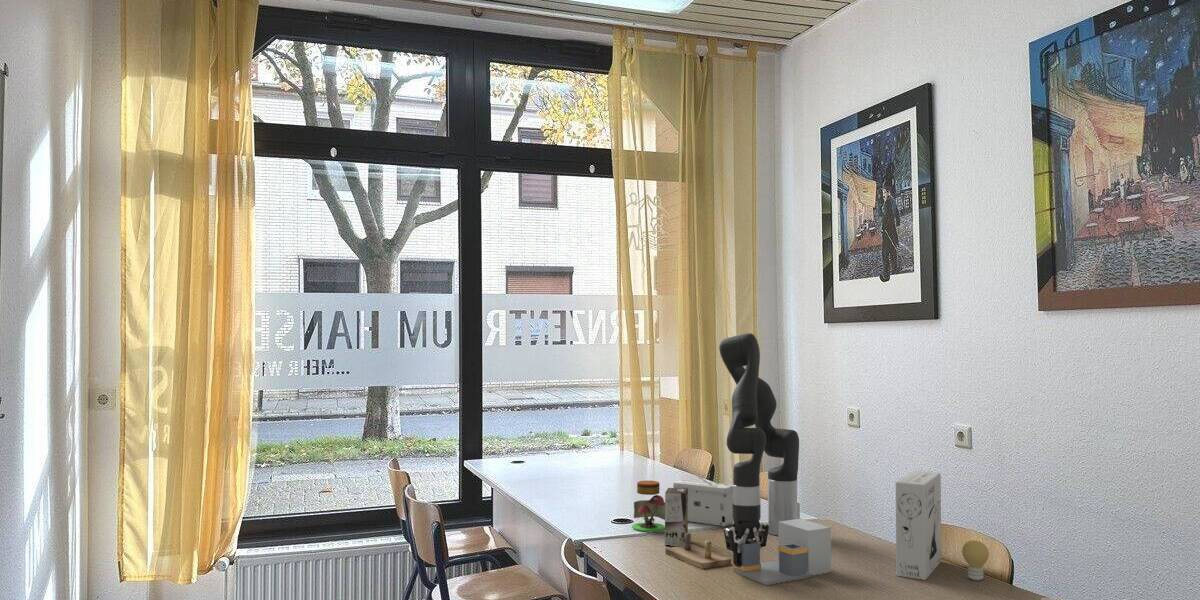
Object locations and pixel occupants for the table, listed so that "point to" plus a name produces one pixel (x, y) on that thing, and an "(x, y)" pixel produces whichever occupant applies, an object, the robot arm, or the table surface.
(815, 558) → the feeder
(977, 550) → the light bulb
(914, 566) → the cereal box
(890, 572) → the table surface
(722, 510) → the stereo radio cassette player
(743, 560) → the sleeve
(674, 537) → the coffee box
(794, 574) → the sleeve
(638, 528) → the red mushroom
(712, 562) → the pin board
